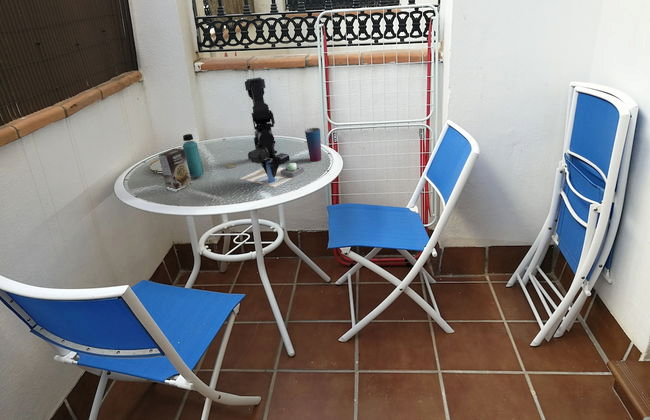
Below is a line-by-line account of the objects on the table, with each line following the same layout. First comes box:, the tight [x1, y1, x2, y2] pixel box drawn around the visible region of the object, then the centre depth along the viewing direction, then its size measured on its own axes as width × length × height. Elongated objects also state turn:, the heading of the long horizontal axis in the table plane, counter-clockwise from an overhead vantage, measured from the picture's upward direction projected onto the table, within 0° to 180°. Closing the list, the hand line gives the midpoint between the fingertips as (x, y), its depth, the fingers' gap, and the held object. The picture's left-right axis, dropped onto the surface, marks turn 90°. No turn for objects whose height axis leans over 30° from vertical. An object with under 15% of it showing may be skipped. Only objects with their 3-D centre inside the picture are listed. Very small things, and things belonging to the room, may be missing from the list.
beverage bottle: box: [182, 133, 205, 178], centre depth 213 cm, size 6×7×20 cm
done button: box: [286, 162, 297, 172], centre depth 206 cm, size 4×4×3 cm
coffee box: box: [158, 148, 193, 189], centre depth 205 cm, size 9×6×16 cm
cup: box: [304, 127, 322, 163], centre depth 217 cm, size 7×7×15 cm
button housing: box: [281, 165, 305, 179], centre depth 207 cm, size 7×7×2 cm
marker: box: [266, 160, 275, 182], centre depth 199 cm, size 3×3×8 cm
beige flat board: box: [240, 166, 299, 188], centre depth 208 cm, size 23×20×1 cm
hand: (271, 176), depth 200 cm, fingers closed on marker, 3 cm apart
